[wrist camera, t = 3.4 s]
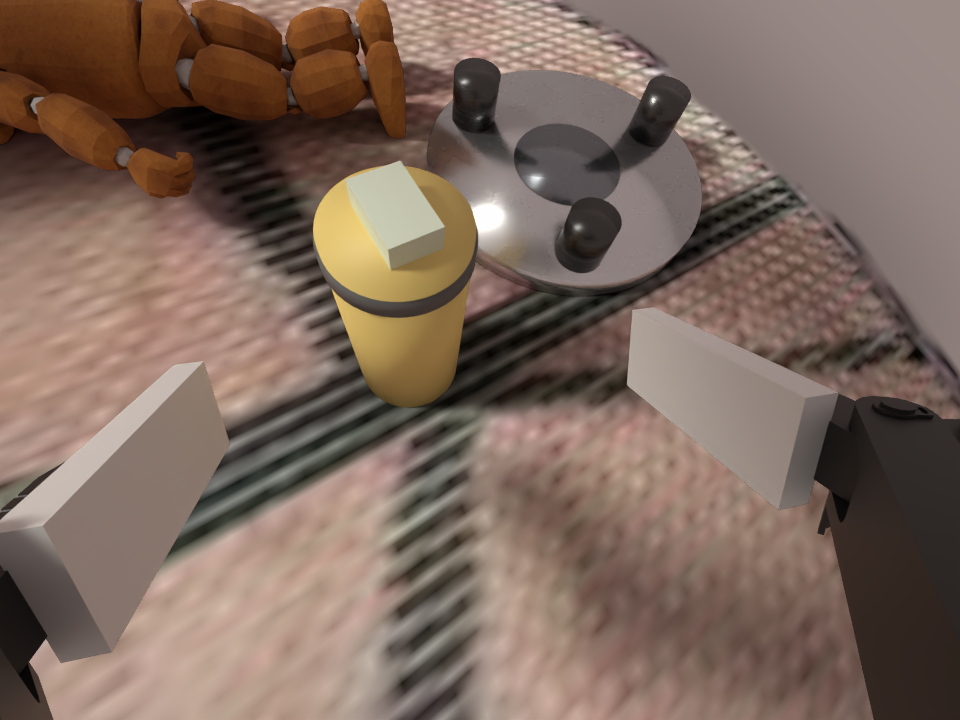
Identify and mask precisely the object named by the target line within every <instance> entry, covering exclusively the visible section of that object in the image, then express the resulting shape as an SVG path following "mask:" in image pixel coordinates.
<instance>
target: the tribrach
mask: <svg viewBox="0 0 960 720" xmlns="http://www.w3.org/2000/svg"><path fill="white" fill-rule="evenodd" d="M690 99H691V93H690V91H689V89H688V88H687V86H686V85H685V84H683V83H682V82H681V81H679V80H677V79H675V78H672V77H667V76H658V77H655V78H653V79H651V80H650V82H649V83H648V86H647V88H646V90H645V92H644V94H643V96H642V98H641V100H639V99H637V98H636V97H634V96H633V95H631V94H629V93H627V92H625V91H623V90H621V89H619V88H617V87H615V86H612V85H610V84H608V83H605V82H603V81H599V80H596V79H593V78H590V77H587V76H582V75H578V74H573V73H567V72H560V71H548V70H529V71H518V72H511V73H506V74H502V75H501V74H500V71H499V69H498V68H497V67H496V66H495V65H494V64H493V63H491V62H489V61H487V60H484V59H480V58H468V59H465V60H462V61H460V62H459V63H458V64H457V65H456V67H455V70H454V87H453V100H452V101H451V102H450V103H449V104H447V106H446V107H445V108H444V109H443V111H442V112H441V113H440V115H439V116H438V118H437V120H436V122H435V124H434V126H433V128H432V131H431V134H430V137H429V140H428V148H427V171H428V172H431V173H433V174H435V175H438V176H440V177H441V178H443V179H445V180H446V181H448V182H449V183H450V184H452V185H453V186H454V187H455V188H456V189H458V190H459V191H460V192H461V194H462V195H463V196H464V197H465V198H466V200H467V202H468V203H469V205H470V207H471V209H472V211H473V214H474V217H475V221H476V226H477V230H478V249H477V256H476V261H477V262H478V263H479V264H481V265H482V266H484V267H485V268H487V269H489V270H490V271H492V272H494V273H495V274H497V275H499V276H501V277H503V278H505V279H507V280H509V281H511V282H514V283H516V284H519V285H522V286H525V287H528V288H531V289H534V290H537V291H542V292H547V293H551V294H557V295H567V296H596V295H603V294H610V293H614V292H618V291H622V290H625V289H629V288H631V287H633V286H636V285H638V284H640V283H643V282H644V281H646V280H648V279H649V278H651V277H653V276H654V275H656V274H657V273H658V272H659V271H661V270H662V269H663V268H664V267H665V266H666V265H668V263H669V262H670V261H671V260H672V259H673V257H674V256H675V255H676V254H677V252H678V251H679V250H680V249H681V248H682V246H683V245H684V244H685V243H686V242H687V240H688V239H689V238H690V236H691V234H692V232H693V230H694V229H695V227H696V224H697V221H698V218H699V215H700V210H701V203H702V187H701V181H700V176H699V172H698V169H697V167H696V164H695V161H694V159H693V157H692V155H691V153H690V151H689V149H688V147H687V146H686V144H685V143H684V141H683V140H682V138H681V137H680V136H679V134H678V133H677V132H676V131H675V130H674V127H675V126H676V124H677V122H678V120H679V119H680V117H681V115H682V113H683V112H684V110H685V108H686V106H687V105H688V103H689V101H690Z"/></svg>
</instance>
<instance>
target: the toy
mask: <svg viewBox="0 0 960 720" xmlns="http://www.w3.org/2000/svg"><path fill="white" fill-rule="evenodd" d="M356 20H357V22H354V23H352V22H351V19H350V17H349V15H348V13H347V12H345V11H344V10H343V9H335V8H328V7H318V8H314V9H311V10H307V11H304V12H302V13H301V14H299V15H297V16H296V17H294V18H293V19H291V20H290V23H289V26H288V29H287V32H286V36H285V38H286V42H287V44H286V45H282V35H281V34H280V33H279V31H278V30H277V29H276V28H275V27H274V26H273V25H272V24H271V23H270V22H268V21H267V20H265V19H263V18H261V17H259V16H257V15H256V14H254V13H252V12H250V11H248V10H246V9H245V8H243V7H240V6H236V5H232V4H228V3H224V2H220V1H217V0H205V1H200V2H195V3H192V9H191V15H188V14H187V13H186V11H185V9H184V7H183V6H182V5H181V4H180V3H179V2H178V0H143V3H142V5H141V4H140V3H139V2H138V1H137V0H0V144H4V143H6V142H8V140H9V139H10V137H11V136H12V135H13V133H14V128H18V129H21V130H24V131H27V132H29V133H42V134H46V135H47V136H48V137H50V138H51V139H52V140H53V141H54V142H55V143H57V144H58V145H59V146H60V147H61V148H62V149H63V150H65V151H66V152H67V153H68V154H69V155H70V156H72V157H74V158H77V159H79V160H81V161H84V162H86V163H89V164H91V165H93V166H96V167H98V168H101V169H105V170H123V169H128V170H129V172H130V174H131V176H132V178H133V179H134V181H135V183H136V184H137V185H138V186H140V187H141V188H142V189H143V190H144V191H145V192H146V193H147V194H149V195H150V196H153V197H157V198H164V197H166V196H170V197H179V196H182V195H185V194H188V193H189V191H190V189H191V186H192V185H191V182H192V181H193V180H194V179H195V178H196V177H195V171H194V169H193V158H192V156H191V155H190V153H185V152H176V157H175V158H177V159H178V160H175V159H173V158H170V157H167V156H165V155H162V154H160V153H157V152H154V151H152V150H149V149H147V148H140V149H139V150H137V151H136V152H135V146H134V145H133V143H132V141H131V140H130V138H129V136H128V135H127V133H126V132H125V130H123V129H122V128H121V127H120V126H119V125H118V124H117V123H116V122H115V121H114V120H113V119H111V118H148V117H153V116H155V115H157V114H159V113H161V112H164V111H166V110H168V109H170V108H172V107H191V106H202V105H203V106H204V107H206V108H208V109H209V110H211V111H213V112H215V113H218V114H222V115H226V116H230V117H234V118H238V119H242V120H272V119H275V118H278V117H281V116H283V115H286V111H287V112H289V113H291V114H294V115H295V114H297V113H299V112H302V111H303V110H304V112H305V113H307V114H309V115H310V116H312V117H314V118H329V117H336V116H339V115H341V114H343V113H346V112H348V111H351V110H352V109H353V108H354V107H355V106H356V105H357V104H358V103H359V102H360V101H361V100H363V99H364V98H365V97H366V95H367V83H366V80H368V82H369V88H370V92H371V95H372V98H373V101H374V103H375V106H376V108H377V110H378V113H379V115H380V117H381V120H382V122H383V124H384V126H385V129H386V131H387V133H388V134H389V135H390V136H391V137H405V133H406V99H405V86H404V74H403V69H402V65H401V61H400V57H399V53H398V49H397V46H396V45H395V43H394V37H393V27H392V23H391V19H390V15H389V12H388V8H387V5H386V3H385V2H383V1H382V0H365V1H363V2H361V3H360V5H359V8H358V10H357V12H356ZM358 39H360V42H361V47H362V50H363V52H364V55H365V57H366V58H365V64H363V65H360V63H359V61H358V59H357V57H356V55H357V54H358V52H359V42H358ZM281 68H283V69H285V70H288V71H293V72H292V75H291V80H290V85H291V87H289V88H287V84H286V78H285V77H284V76H283V75H282V74H281V73H280V71H281Z"/></svg>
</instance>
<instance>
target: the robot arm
mask: <svg viewBox="0 0 960 720" xmlns="http://www.w3.org/2000/svg"><path fill="white" fill-rule="evenodd" d="M627 386H629V387H630V388H631V389H632V390H633V391H635V392H636V393H637V394H638V395H639V396H641V397H642V398H643V399H644V400H646V401H647V402H648V403H649V404H650V405H652V406H653V407H654V408H655V409H656V410H658V411H659V412H660V413H661V414H663V415H664V416H665V417H666V418H667V419H669V420H670V421H671V422H672V423H673V424H675V425H676V426H677V427H678V428H679V429H681V430H682V431H683V432H684V433H686V434H687V435H688V436H689V437H690V438H692V439H693V440H694V441H695V442H696V443H698V444H699V445H700V446H701V447H703V448H704V449H705V450H706V451H707V452H709V453H710V454H711V455H712V456H713V457H715V458H716V459H717V460H718V461H719V462H721V463H722V464H723V465H724V466H726V467H727V468H728V469H729V470H730V471H732V472H733V473H734V474H735V475H736V476H738V477H739V478H740V479H741V480H743V481H744V482H745V483H746V484H747V485H749V486H750V487H751V488H752V489H753V490H755V491H756V492H757V493H758V494H759V495H761V496H762V497H763V498H764V499H766V500H767V501H768V502H769V503H770V504H772V505H773V506H774V507H775V508H776V509H778V510H781V509H785V508H790V507H795V506H800V505H804V504H808V502H809V499H810V495H811V492H812V488H813V484H814V481H815V480H816V481H818V482H819V483H820V484H822V485H823V486H825V487H826V488H828V489H829V494H828V497H827V500H826V504H825V507H824V511H823V514H822V517H821V521H820V524H819V528H818V534H822V535H824V532H825V529H826V528H829V527H830V528H831V532H832V536H833V541H834V545H835V550H836V554H837V558H838V563H839V567H840V572H841V576H842V581H843V585H844V589H845V594H846V598H847V603H848V607H849V612H850V616H851V620H852V625H853V629H854V634H855V638H856V642H857V647H858V651H859V656H860V660H861V665H862V669H863V673H864V678H865V682H866V687H867V691H868V695H869V700H870V704H871V709H872V713H873V718H874V720H960V419H941V418H940V417H939V416H938V415H937V414H936V413H934V412H933V411H931V410H930V409H928V408H927V407H923V406H921V405H918V404H915V403H912V402H909V401H906V400H902V399H898V398H890V397H879V396H870V397H862V398H860V399H858V400H856V401H854V400H852V399H849V398H847V397H845V396H843V395H841V394H839V392H836V391H834V390H832V389H830V388H828V387H826V386H823V385H821V384H819V383H817V382H815V381H813V380H810V379H808V378H806V377H804V376H802V375H800V374H797V373H795V372H793V371H791V370H789V369H786V368H784V367H782V366H780V365H778V364H776V363H773V362H771V361H769V360H767V359H765V358H763V357H760V356H758V355H756V354H754V353H752V352H750V351H747V350H745V349H743V348H741V347H739V346H737V345H734V344H732V343H730V342H728V341H726V340H724V339H721V338H719V337H717V336H715V335H713V334H710V333H708V332H706V331H704V330H702V329H700V328H697V327H695V326H693V325H691V324H689V323H687V322H684V321H682V320H680V319H678V318H676V317H674V316H671V315H669V314H667V313H665V312H663V311H661V310H658V309H656V308H654V307H652V308H644V309H636V310H632V323H631V336H630V350H629V363H628V377H627ZM229 445H230V443H229V440H228V437H227V434H226V430H225V427H224V424H223V421H222V418H221V415H220V411H219V408H218V405H217V402H216V399H215V396H214V392H213V389H212V386H211V383H210V380H209V377H208V373H207V370H206V367H205V364H204V361H202V362H194V363H186V364H177V365H173V366H172V367H171V368H170V369H169V370H168V371H167V372H165V373H164V374H163V375H162V376H161V377H160V378H159V379H158V380H157V381H155V382H154V383H153V384H152V385H151V386H150V387H149V388H148V389H146V390H145V391H144V392H143V393H142V394H141V395H140V396H139V397H137V398H136V399H135V400H134V401H133V402H132V403H131V404H130V405H128V406H127V407H126V408H125V409H124V410H123V411H122V412H121V413H120V414H118V415H117V416H116V417H115V418H114V419H113V420H112V421H111V422H109V423H108V424H107V425H106V426H105V427H104V428H103V429H102V430H100V431H99V432H98V433H97V434H96V435H95V436H94V437H93V438H91V439H90V440H89V441H88V442H87V443H86V444H85V445H84V446H83V447H81V448H80V449H79V450H78V451H77V452H76V453H75V454H74V455H72V456H71V457H70V458H69V459H68V460H67V461H66V462H64V463H62V464H60V465H59V466H57V467H55V468H54V469H52V470H50V471H48V472H47V473H45V474H43V475H41V476H40V477H38V478H37V479H36V480H35V481H33V482H32V483H31V484H30V485H29V486H28V487H27V488H25V489H24V490H23V491H22V492H21V493H20V494H18V498H14V499H13V500H12V501H10V502H9V503H8V504H7V505H6V506H5V507H3V508H2V509H1V510H2V512H1V513H0V720H53V717H52V714H51V712H50V709H49V706H48V703H47V700H46V697H45V694H44V691H43V688H42V686H41V683H40V680H39V677H38V675H37V673H36V672H35V670H34V669H33V667H32V666H31V664H30V663H29V661H30V660H31V658H32V657H33V655H34V654H35V653H36V651H37V650H38V649H39V647H40V646H41V644H42V643H43V642H44V640H45V639H46V640H47V641H48V643H49V644H50V646H51V648H52V649H53V651H54V652H55V654H56V656H57V657H58V659H59V661H60V662H61V663H63V662H68V661H73V660H77V659H82V658H87V657H91V656H96V655H101V654H105V653H110V652H112V651H113V649H114V647H115V646H116V644H117V642H118V640H119V639H120V637H121V635H122V633H123V632H124V630H125V628H126V626H127V625H128V623H129V621H130V619H131V618H132V616H133V614H134V612H135V611H136V609H137V607H138V605H139V604H140V602H141V600H142V598H143V596H144V595H145V593H146V591H147V589H148V588H149V586H150V584H151V582H152V581H153V579H154V577H155V575H156V574H157V572H158V570H159V568H160V567H161V565H162V563H163V561H164V560H165V558H166V556H167V554H168V553H169V551H170V549H171V547H172V546H173V544H174V542H175V540H176V539H177V537H178V535H179V533H180V531H181V530H182V528H183V526H184V524H185V523H186V521H187V519H188V517H189V516H190V514H191V512H192V510H193V509H194V507H195V505H196V503H197V502H198V500H199V498H200V496H201V495H202V493H203V491H204V489H205V488H206V486H207V484H208V482H209V481H210V479H211V477H212V475H213V474H214V472H215V470H216V468H217V467H218V465H219V463H220V461H221V459H222V458H223V456H224V454H225V452H226V451H227V449H228V447H229Z"/></svg>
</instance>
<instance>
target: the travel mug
mask: <svg viewBox="0 0 960 720" xmlns="http://www.w3.org/2000/svg"><path fill="white" fill-rule="evenodd" d="M313 246H314V251H315V254H316V258H317V260H318V263H319V265H320V268H321V271H322V273H323V275H324V278H325V280H326V281H327V283H328V284H329V286H330V287H331V289H332V291H333V294H334V297H335V300H336V302H337V305H338V308H339V311H340V313H341V316H342V319H343V321H344V324H345V327H346V330H347V332H348V335H349V338H350V341H351V343H352V346H353V349H354V351H355V354H356V357H357V360H358V362H359V365H360V368H361V371H362V373H363V376H364V379H365V381H366V383H367V385H368V387H369V388H370V389H371V391H372V392H373V393H374V394H375V395H376V396H377V397H378V398H380V399H381V400H383V401H385V402H387V403H389V404H391V405H394V406H399V407H407V408H408V407H418V406H423V405H426V404H428V403H431V402H433V401H434V400H436V399H438V398H439V397H440V396H441V395H443V394H444V393H445V392H446V390H447V389H448V388H449V386H450V385H451V383H452V381H453V379H454V376H455V373H456V367H457V361H458V354H459V348H460V341H461V334H462V328H463V321H464V315H465V308H466V301H467V295H468V288H469V282H470V278H471V275H472V273H473V270H474V266H475V262H476V256H477V249H478V230H477V226H476V221H475V217H474V214H473V211H472V209H471V207H470V205H469V203H468V202H467V200H466V198H465V197H464V196H463V195H462V194H461V192H460V191H459V190H458V189H456V188H455V187H454V186H453V185H452V184H450V183H449V182H448V181H446V180H445V179H443V178H441V177H440V176H438V175H435V174H433V173H431V172H428V171H425V170H422V169H418V168H414V167H408V166H404V165H403V164H402V162H401V161H397V162H395V163H392V164H389V165H386V166H379V167H373V168H369V169H366V170H362V171H359V172H357V173H354V174H352V175H350V176H348V177H347V178H345V179H343V180H342V181H340V182H339V183H337V184H336V185H335V186H334V187H333V188H332V189H331V190H330V191H329V192H328V193H327V194H326V195H325V197H324V198H323V200H322V201H321V203H320V204H319V207H318V209H317V211H316V214H315V218H314V225H313Z"/></svg>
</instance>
